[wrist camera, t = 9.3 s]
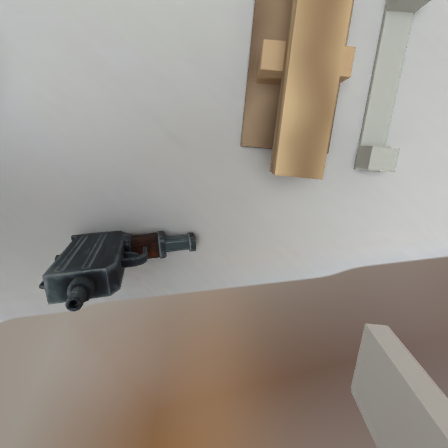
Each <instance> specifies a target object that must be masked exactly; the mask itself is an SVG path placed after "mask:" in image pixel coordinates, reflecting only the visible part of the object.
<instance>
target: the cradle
mask: <svg viewBox="0 0 448 448" xmlns="http://www.w3.org/2000/svg"><path fill="white" fill-rule="evenodd" d="M429 1H431V0H386V5H385V10H384V16H383V21H382V26H381V31H380V36H379V42H378V47H377V52H376V57H375V62H374V67H373V73H372V78H371V83H370V88H369V93H368V99H367V104H366V109H365V114H364V119H363V125H362V130H361V135H360V140H359V145H358V150H357V156H356V161H355V166H354V169H356V170H366V171H377V172H380V171H391V172H395V168H396V164H397V159H398V155H399V150H400V149H399V148H388V147H385V146H386V141H387V136H388V132H389V127H390V122H391V118H392V113H393V108H394V104H395V99H396V94H397V90H398V85H399V80H400V76H401V71H402V66H403V62H404V57H405V52H406V48H407V43H408V38H409V34H410V29H411V24H412V20H413V15H414V12H416V11H417V10H418V9H420V8H421V7H423V6H424V5H425V4H427V3H428V2H429Z"/></svg>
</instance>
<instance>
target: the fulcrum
mask: <svg viewBox="0 0 448 448" xmlns="http://www.w3.org/2000/svg"><path fill="white" fill-rule="evenodd" d="M353 4H354V0H353V2H352V8H351V13H350V19H349V25H348V31H347V37H346V43H345V49H344V55H343V61H342V67H341V73H340V79H339V85H338V91H337V96H336V102H335V108H334V114H333V120H332V126H331V132H330V138H329V144H328V150H327V154H328V151H329V145H330V139H331V133H332V127H333V121H334V116H335V110H336V104H337V98H338V92H339V86H340V83H341V82H343V81H344V80H346V79H348V78H350V77H351V71H352V65H353V60H354V54H355V49H356V47H350V46H346V45H347V39H348V33H349V27H350V21H351V15H352V9H353ZM290 7H291V0H255V8H254V18H253V28H252V38H251V49H250V59H249V69H248V79H247V89H246V99H245V109H244V119H243V129H242V139H241V146H249V147H260V148H271V149H273V143H274V135H275V127H276V119H277V111H278V103H279V95H280V87H281V79H282V71H283V63H284V55H285V47H286V39H287V31H288V23H289V15H290Z"/></svg>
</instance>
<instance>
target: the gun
mask: <svg viewBox="0 0 448 448" xmlns="http://www.w3.org/2000/svg"><path fill="white" fill-rule="evenodd" d="M71 239H72V242H71V243H70V244H69V245H68V247H67V248H66V249H65V250H64V251H63V252H62V254H61V255H56V257H55V262H54V263H53V264H52V265H51V267H50V268H49V269H48V270H47V271H46V272H45V274H44V275H43V276H42V277H43V281H42V283H41V284H40V285H39V288H41V289H45V292H46V296H47V301H48V304H55V303H62V302H66V307H67V309H68V310H70V311H77V310H79V309H80V308H81V307H82V305H83V303H84V302H86V301H88V300H89V299H91V298H99V297H106V296H111V295H112V294H114V293H115V292H117V291H118V290H119V289H120V287H121V283H122V278H123V274H124V269H125V267H133V266H138V265H141V264H144V263H145V262H146V261H147V259H149V258H158V257H160V258H165V257H166V256H167V255H166V252H170V251H178V250H187V249H189V250H190V251H196V241H195V236H194V234H193V233H187V235H181V236H171V237H165V236H164V232H163V231H158V232H157V233H151V234H143V235H131V234H128V235H125V233H123V232H122V231H112V232H102V233H92V234H81V235H72V236H71Z"/></svg>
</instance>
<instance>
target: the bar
mask: <svg viewBox="0 0 448 448" xmlns="http://www.w3.org/2000/svg"><path fill="white" fill-rule="evenodd" d="M352 2H353V0H291V7H290V15H289V23H288V31H287V39H286V47H285V55H284V63H283V71H282V79H281V87H280V95H279V103H278V111H277V119H276V127H275V135H274V143H273V151H272V159H271V167H270V171H271V172H272V173H273V174H274V175H281V176H291V177H302V178H313V179H323V173H324V168H325V162H326V156H327V150H328V144H329V138H330V132H331V126H332V120H333V114H334V108H335V102H336V96H337V91H338V85H339V79H340V73H341V67H342V61H343V55H344V49H345V43H346V37H347V31H348V25H349V19H350V13H351V8H352Z"/></svg>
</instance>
